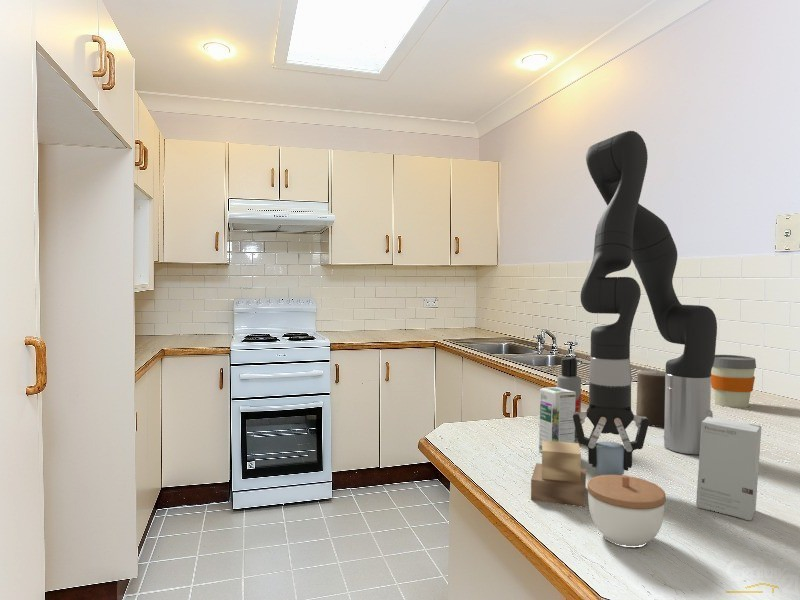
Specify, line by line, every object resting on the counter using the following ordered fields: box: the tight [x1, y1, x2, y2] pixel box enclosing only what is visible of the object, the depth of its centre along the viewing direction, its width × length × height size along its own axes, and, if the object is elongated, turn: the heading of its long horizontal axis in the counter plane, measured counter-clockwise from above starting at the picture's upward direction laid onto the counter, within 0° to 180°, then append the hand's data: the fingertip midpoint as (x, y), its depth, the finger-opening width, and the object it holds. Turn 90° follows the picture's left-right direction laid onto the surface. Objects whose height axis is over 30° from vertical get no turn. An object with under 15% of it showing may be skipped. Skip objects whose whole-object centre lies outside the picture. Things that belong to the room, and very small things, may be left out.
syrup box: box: [538, 386, 576, 453], centre depth 117 cm, size 6×6×14 cm
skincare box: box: [695, 416, 762, 521], centre depth 88 cm, size 8×6×15 cm
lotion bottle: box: [556, 356, 582, 441], centre depth 129 cm, size 6×6×20 cm
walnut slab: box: [530, 463, 587, 508], centre depth 95 cm, size 9×9×4 cm
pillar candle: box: [635, 367, 666, 428], centre depth 144 cm, size 10×10×15 cm
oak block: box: [541, 440, 582, 483], centre depth 95 cm, size 6×6×5 cm
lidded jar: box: [586, 474, 666, 546], centre depth 78 cm, size 11×11×9 cm
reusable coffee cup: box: [711, 354, 757, 409], centre depth 165 cm, size 12×13×15 cm
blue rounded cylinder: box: [594, 440, 625, 475], centre depth 101 cm, size 5×5×5 cm
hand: (609, 467), depth 101 cm, fingers closed on blue rounded cylinder, 5 cm apart
